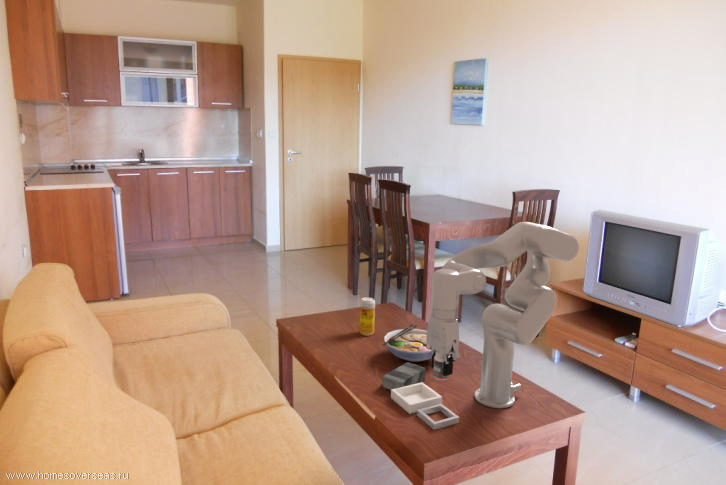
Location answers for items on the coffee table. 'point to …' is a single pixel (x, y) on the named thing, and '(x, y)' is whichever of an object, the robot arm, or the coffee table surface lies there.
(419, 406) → the tray
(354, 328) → the coffee table surface
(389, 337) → the ramen bowl
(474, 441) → the coffee table surface
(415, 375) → the stone block
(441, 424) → the square open frame
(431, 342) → the robot arm
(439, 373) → the pill bottle
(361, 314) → the glass of beer
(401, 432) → the coffee table surface
